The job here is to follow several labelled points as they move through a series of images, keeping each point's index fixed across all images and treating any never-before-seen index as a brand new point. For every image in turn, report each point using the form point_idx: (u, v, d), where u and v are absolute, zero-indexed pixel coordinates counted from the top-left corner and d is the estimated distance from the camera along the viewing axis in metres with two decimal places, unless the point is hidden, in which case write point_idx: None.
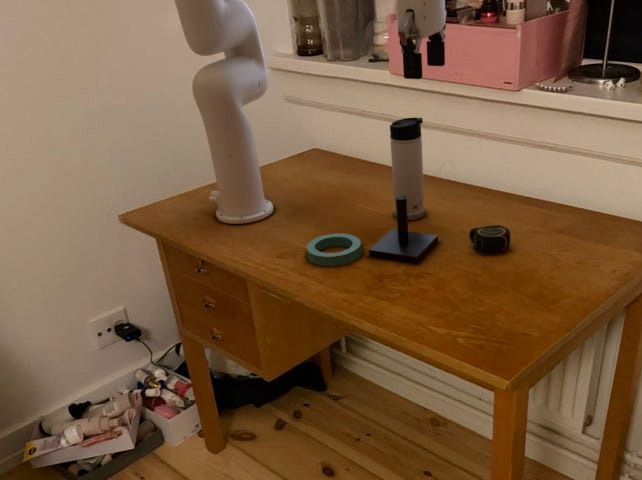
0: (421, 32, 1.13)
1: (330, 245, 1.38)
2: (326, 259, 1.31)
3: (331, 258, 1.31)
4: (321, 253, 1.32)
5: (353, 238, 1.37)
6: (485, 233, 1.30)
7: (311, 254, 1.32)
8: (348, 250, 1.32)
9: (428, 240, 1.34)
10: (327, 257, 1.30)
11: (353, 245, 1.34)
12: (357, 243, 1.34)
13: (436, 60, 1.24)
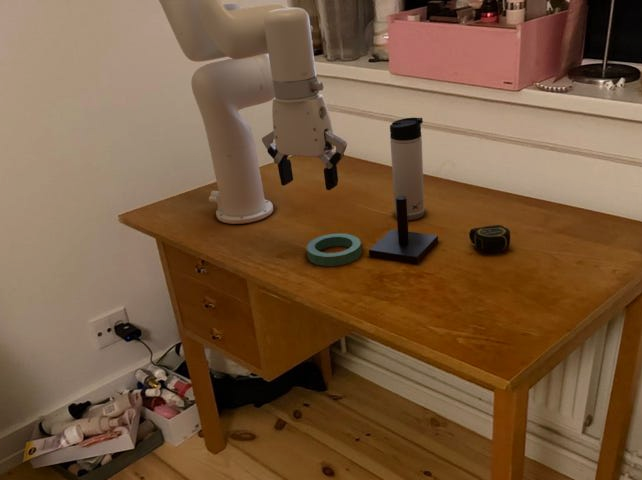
0: (276, 148, 1.27)
1: (330, 245, 1.38)
2: (326, 259, 1.31)
3: (331, 258, 1.31)
4: (321, 253, 1.32)
5: (353, 238, 1.37)
6: (485, 233, 1.30)
7: (311, 254, 1.32)
8: (348, 250, 1.32)
9: (428, 240, 1.34)
10: (327, 257, 1.30)
11: (353, 245, 1.34)
12: (357, 243, 1.34)
13: None
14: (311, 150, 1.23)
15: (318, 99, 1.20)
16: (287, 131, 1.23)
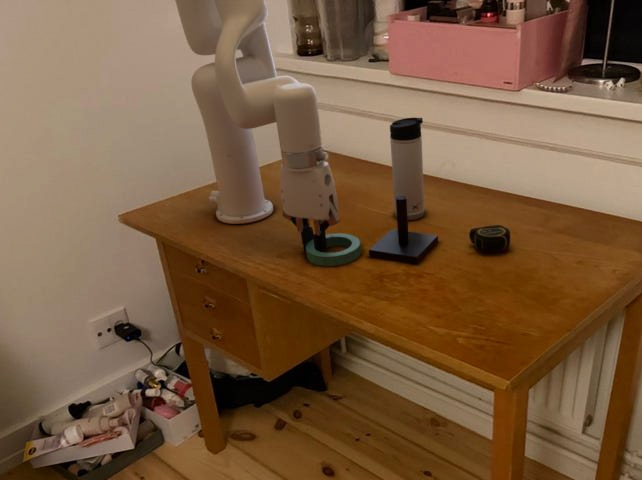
0: (283, 210, 1.33)
1: (329, 245, 1.38)
2: (326, 258, 1.31)
3: (330, 258, 1.31)
4: (320, 253, 1.32)
5: (353, 237, 1.37)
6: (485, 233, 1.30)
7: (310, 254, 1.32)
8: (347, 250, 1.32)
9: (428, 240, 1.34)
10: (326, 257, 1.31)
11: (352, 245, 1.34)
12: (356, 243, 1.34)
13: None
14: (316, 214, 1.30)
15: (324, 168, 1.26)
16: (294, 196, 1.30)
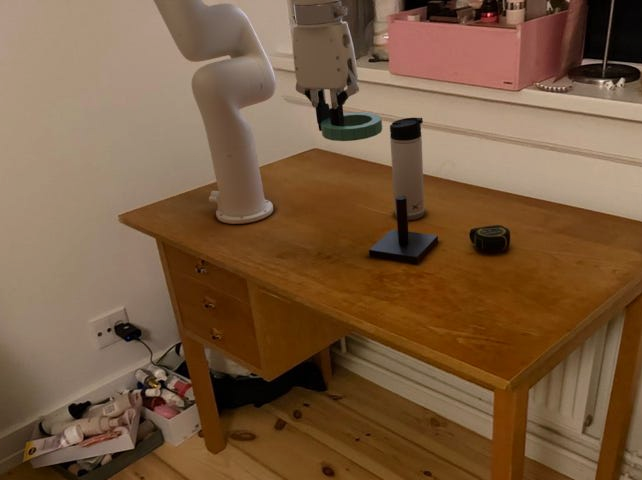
0: (297, 81, 1.20)
1: (347, 125, 1.25)
2: (343, 132, 1.18)
3: (348, 131, 1.17)
4: (337, 127, 1.19)
5: (373, 115, 1.23)
6: (485, 233, 1.30)
7: (326, 128, 1.19)
8: (367, 123, 1.19)
9: (428, 240, 1.34)
10: (344, 130, 1.17)
11: (372, 120, 1.21)
12: (377, 118, 1.21)
13: None
14: (333, 81, 1.17)
15: (342, 25, 1.13)
16: (308, 61, 1.17)
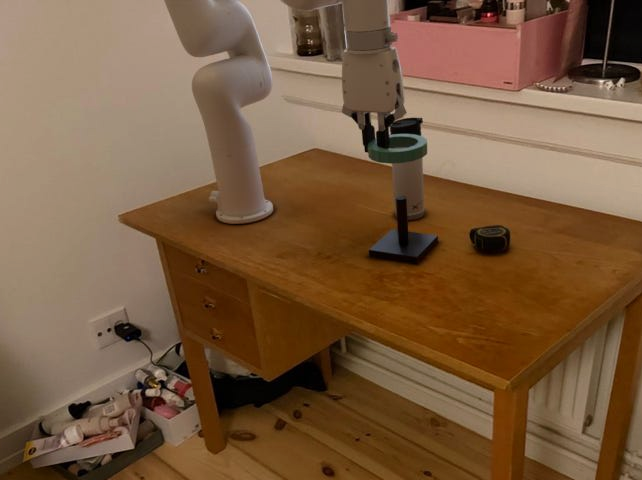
0: (344, 104, 1.23)
1: (391, 146, 1.28)
2: (392, 154, 1.20)
3: (397, 154, 1.20)
4: (385, 149, 1.21)
5: (418, 136, 1.26)
6: (485, 233, 1.30)
7: (374, 151, 1.21)
8: (414, 146, 1.21)
9: (428, 240, 1.34)
10: (392, 153, 1.20)
11: (419, 142, 1.23)
12: (423, 140, 1.23)
13: None
14: (382, 105, 1.19)
15: (392, 51, 1.15)
16: (357, 85, 1.19)
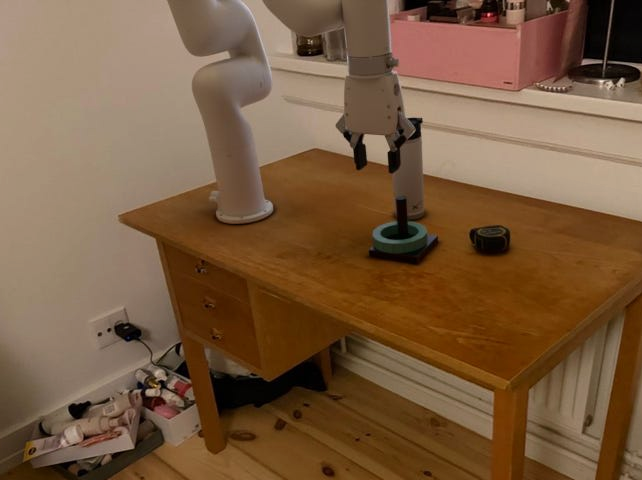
0: (346, 126, 1.25)
1: (394, 233, 1.38)
2: (395, 246, 1.30)
3: (399, 245, 1.30)
4: (389, 240, 1.31)
5: (418, 225, 1.36)
6: (485, 233, 1.30)
7: (378, 241, 1.31)
8: (415, 237, 1.31)
9: (428, 240, 1.34)
10: (395, 244, 1.30)
11: (419, 232, 1.33)
12: (423, 230, 1.33)
13: None
14: (383, 128, 1.21)
15: (393, 76, 1.17)
16: (359, 108, 1.21)
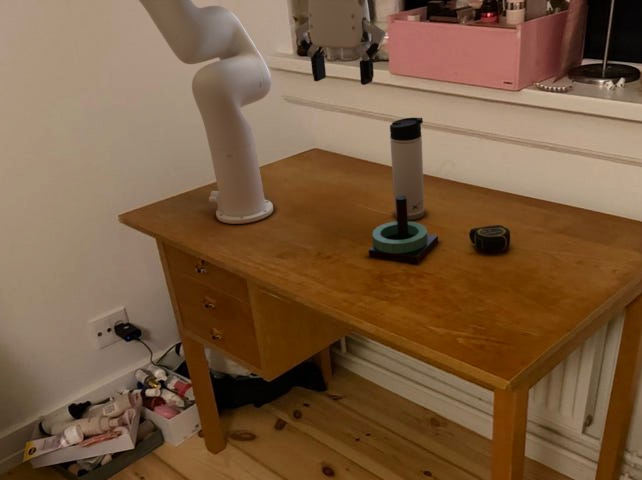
0: (311, 39, 1.22)
1: (394, 233, 1.38)
2: (395, 246, 1.30)
3: (399, 245, 1.30)
4: (389, 240, 1.31)
5: (418, 225, 1.36)
6: (485, 233, 1.30)
7: (378, 241, 1.31)
8: (415, 237, 1.31)
9: (428, 240, 1.34)
10: (395, 244, 1.30)
11: (419, 232, 1.33)
12: (423, 230, 1.33)
13: None
14: (348, 40, 1.19)
15: None
16: (323, 19, 1.19)
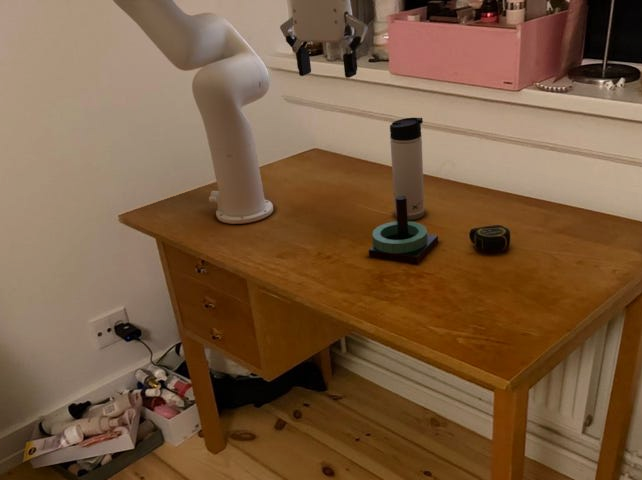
0: (295, 34, 1.25)
1: (394, 233, 1.38)
2: (395, 246, 1.30)
3: (399, 245, 1.30)
4: (389, 240, 1.31)
5: (418, 225, 1.36)
6: (485, 233, 1.30)
7: (378, 241, 1.31)
8: (415, 237, 1.31)
9: (428, 240, 1.34)
10: (395, 244, 1.30)
11: (419, 232, 1.33)
12: (423, 230, 1.33)
13: None
14: (331, 34, 1.22)
15: None
16: (307, 14, 1.21)
